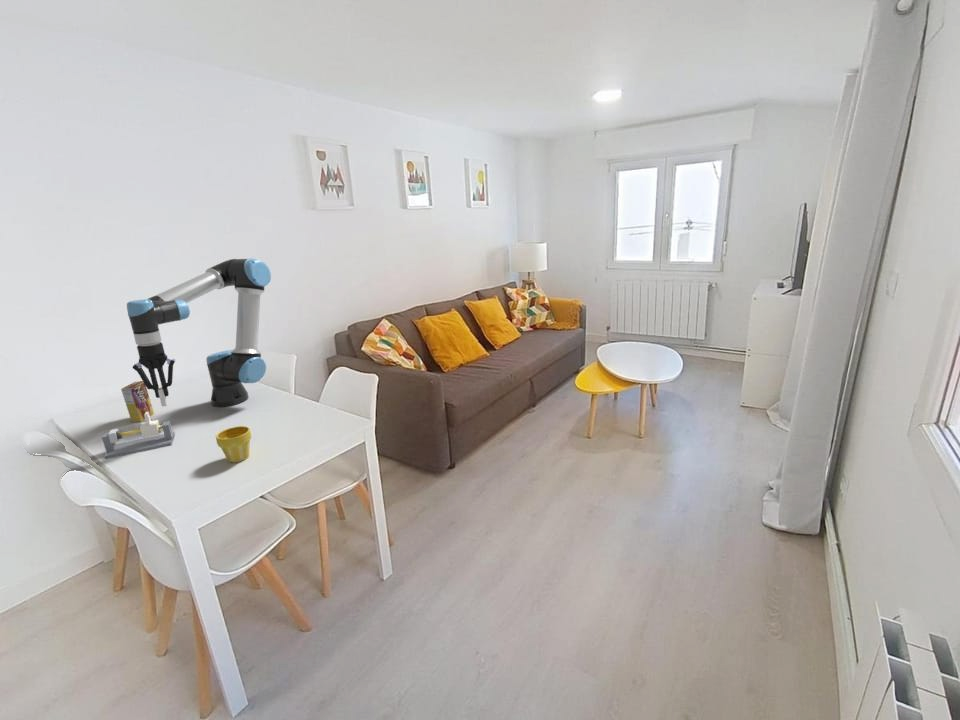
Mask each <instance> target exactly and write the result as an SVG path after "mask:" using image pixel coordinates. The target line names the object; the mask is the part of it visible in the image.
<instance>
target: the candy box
mask: <svg viewBox="0 0 960 720" xmlns="http://www.w3.org/2000/svg"><path fill="white" fill-rule="evenodd" d="M121 393H122V397H123V400H124V402H125V406H126V409H127V411H128V414H129V418H130V421H131V422H132V423H141V422H143V421H145V417H144V415H145V413H146V412H149V415H150V416H152V415H153V414H154V413H155V411H154V408H153V404H152V401H151V398H150V396H149V392H148V389H147V387H146V385H145V384H144V382H143V380H140V381H139V380H137V381H134V382H131V383H130V384H128V385H126V386H124V387H122V388H121Z"/></svg>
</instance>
